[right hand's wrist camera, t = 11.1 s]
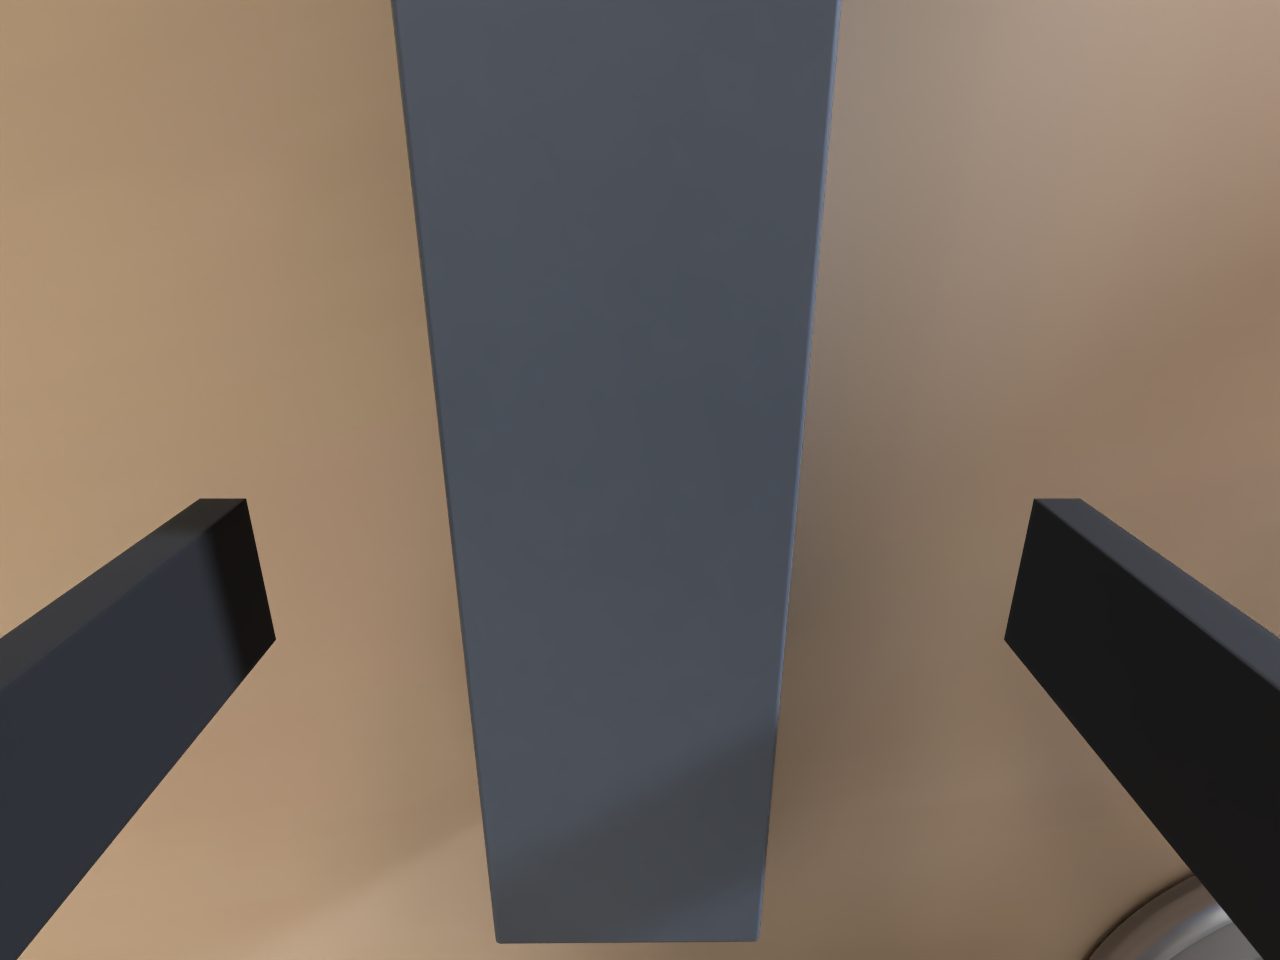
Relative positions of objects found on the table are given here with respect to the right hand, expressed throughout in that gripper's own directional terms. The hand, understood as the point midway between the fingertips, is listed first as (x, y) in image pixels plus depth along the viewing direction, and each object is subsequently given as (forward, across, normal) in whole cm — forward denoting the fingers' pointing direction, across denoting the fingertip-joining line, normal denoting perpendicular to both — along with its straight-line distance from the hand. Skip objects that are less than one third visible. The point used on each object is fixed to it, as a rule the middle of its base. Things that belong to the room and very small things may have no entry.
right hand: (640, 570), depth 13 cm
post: (+5, 0, -20) cm, 20 cm away
